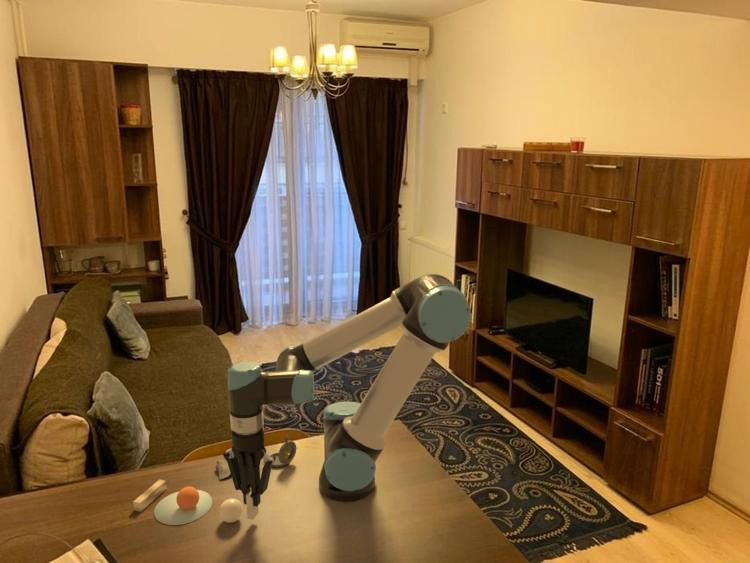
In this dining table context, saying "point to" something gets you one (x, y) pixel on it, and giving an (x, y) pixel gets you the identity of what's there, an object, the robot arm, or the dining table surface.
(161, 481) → the birch rail
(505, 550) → the dining table surface
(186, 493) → the object ball
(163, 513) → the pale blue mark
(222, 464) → the mineral specimen
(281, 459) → the pocket watch
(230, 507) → the cue ball
